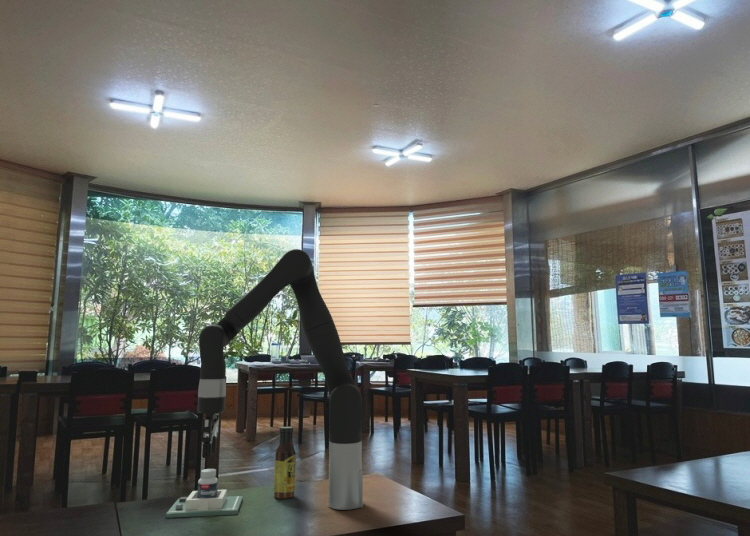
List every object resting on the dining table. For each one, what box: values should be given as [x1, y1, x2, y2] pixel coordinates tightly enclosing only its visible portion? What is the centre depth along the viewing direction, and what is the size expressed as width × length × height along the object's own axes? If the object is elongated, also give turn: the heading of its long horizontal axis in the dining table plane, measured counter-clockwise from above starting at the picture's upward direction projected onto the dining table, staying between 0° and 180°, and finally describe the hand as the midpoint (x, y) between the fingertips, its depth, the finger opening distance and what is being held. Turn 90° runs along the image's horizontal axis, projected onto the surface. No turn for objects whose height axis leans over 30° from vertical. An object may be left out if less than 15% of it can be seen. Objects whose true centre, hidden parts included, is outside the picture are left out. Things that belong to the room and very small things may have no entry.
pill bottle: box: [197, 468, 219, 498], centre depth 140 cm, size 5×5×9 cm
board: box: [165, 489, 244, 519], centre depth 140 cm, size 18×14×4 cm
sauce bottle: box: [273, 426, 297, 500], centre depth 152 cm, size 6×6×20 cm
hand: (209, 454), depth 142 cm, fingers open, 8 cm apart
